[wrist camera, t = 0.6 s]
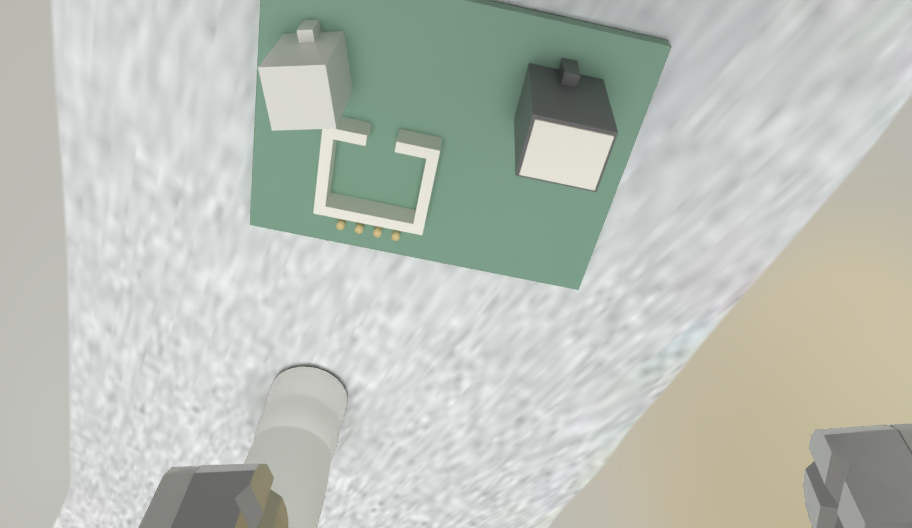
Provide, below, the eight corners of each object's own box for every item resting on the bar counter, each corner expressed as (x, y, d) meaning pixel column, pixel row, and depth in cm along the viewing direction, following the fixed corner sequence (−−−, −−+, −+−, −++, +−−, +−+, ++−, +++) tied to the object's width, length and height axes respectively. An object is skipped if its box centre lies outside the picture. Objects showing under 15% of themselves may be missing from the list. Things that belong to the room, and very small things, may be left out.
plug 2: (532, 51, 48) (536, 102, 41) (607, 67, 48) (623, 121, 41) (514, 118, 51) (515, 177, 44) (584, 133, 51) (596, 194, 44)
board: (267, -50, 46) (253, -37, 44) (667, 40, 48) (677, 57, 45) (254, 216, 58) (242, 239, 55) (577, 280, 60) (580, 305, 57)
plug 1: (280, 21, 48) (254, 53, 43) (342, 18, 47) (323, 51, 42) (294, 92, 50) (271, 130, 45) (352, 90, 50) (336, 128, 45)
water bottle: (362, 404, 69) (303, 682, 49) (299, 425, 71) (218, 699, 51) (322, 353, 66) (240, 629, 45) (257, 376, 68) (151, 650, 48)
